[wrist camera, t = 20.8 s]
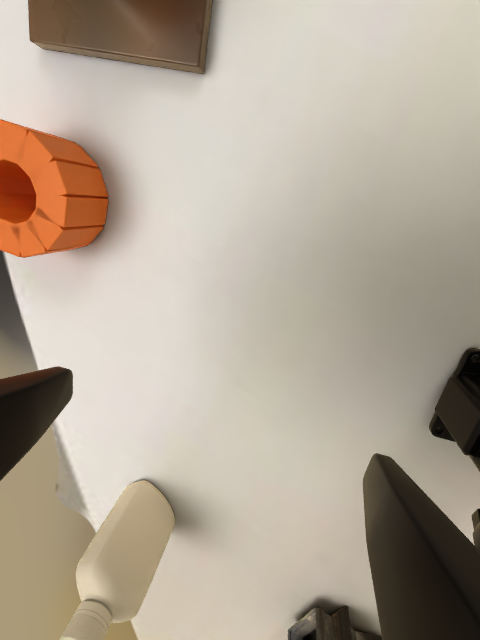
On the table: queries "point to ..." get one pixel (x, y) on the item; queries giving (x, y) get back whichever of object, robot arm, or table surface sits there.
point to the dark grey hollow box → (327, 627)
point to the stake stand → (125, 30)
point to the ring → (47, 193)
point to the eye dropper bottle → (121, 561)
